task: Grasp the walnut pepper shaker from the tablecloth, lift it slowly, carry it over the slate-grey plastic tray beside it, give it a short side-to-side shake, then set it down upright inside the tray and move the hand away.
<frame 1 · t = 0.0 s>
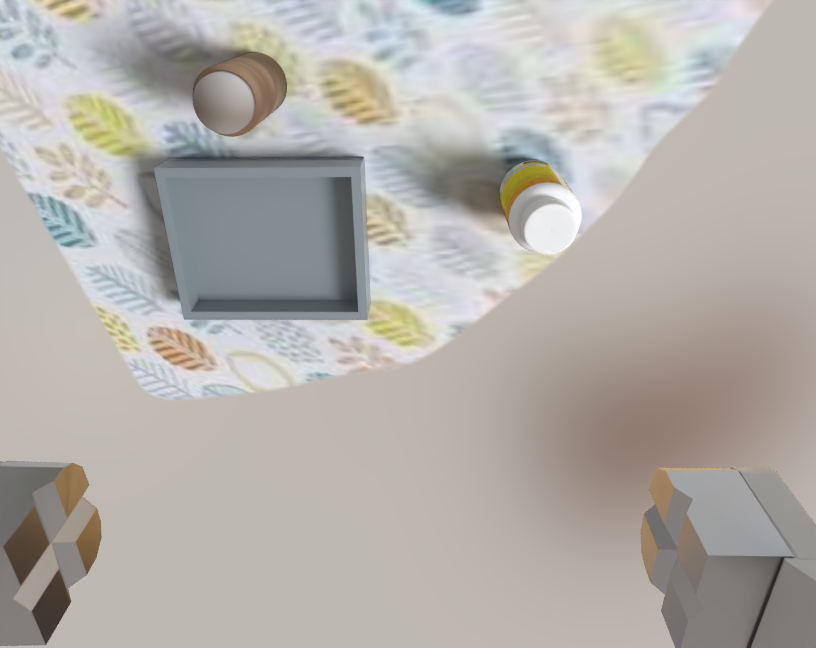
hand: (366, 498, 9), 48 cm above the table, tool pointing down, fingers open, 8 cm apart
shaker: (257, 83, 52), on the table
tray: (275, 234, 58), on the table
supplement bottle: (530, 189, 56), on the table
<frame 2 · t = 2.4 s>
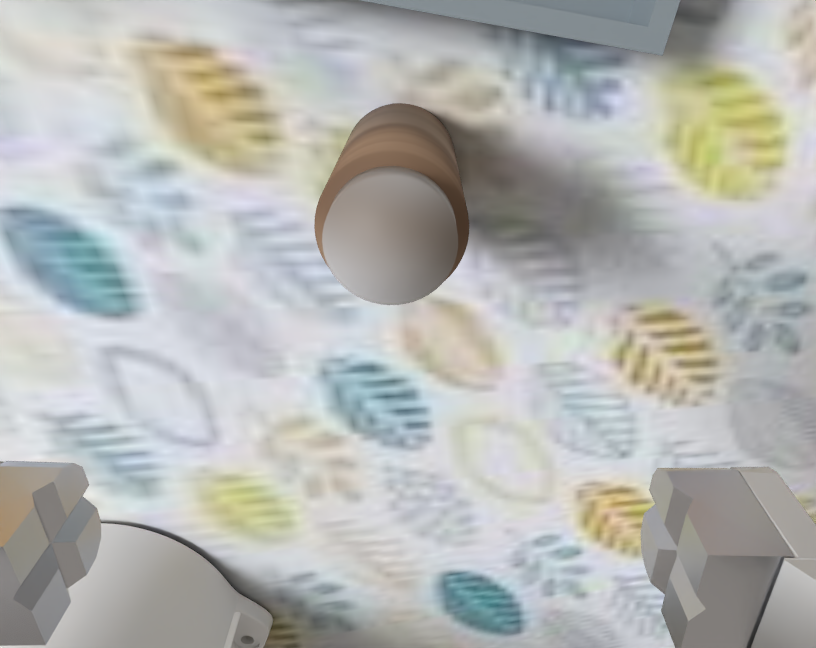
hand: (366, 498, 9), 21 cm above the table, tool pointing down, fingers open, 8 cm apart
shaker: (400, 160, 28), on the table
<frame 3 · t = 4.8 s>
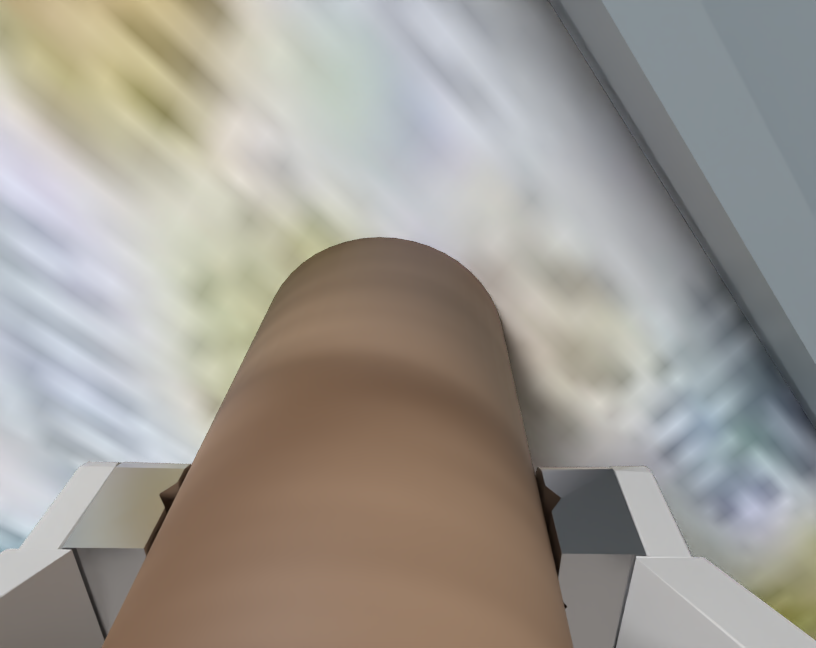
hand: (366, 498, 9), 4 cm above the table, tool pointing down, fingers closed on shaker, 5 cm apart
shaker: (383, 350, 13), on the table, touching gripper
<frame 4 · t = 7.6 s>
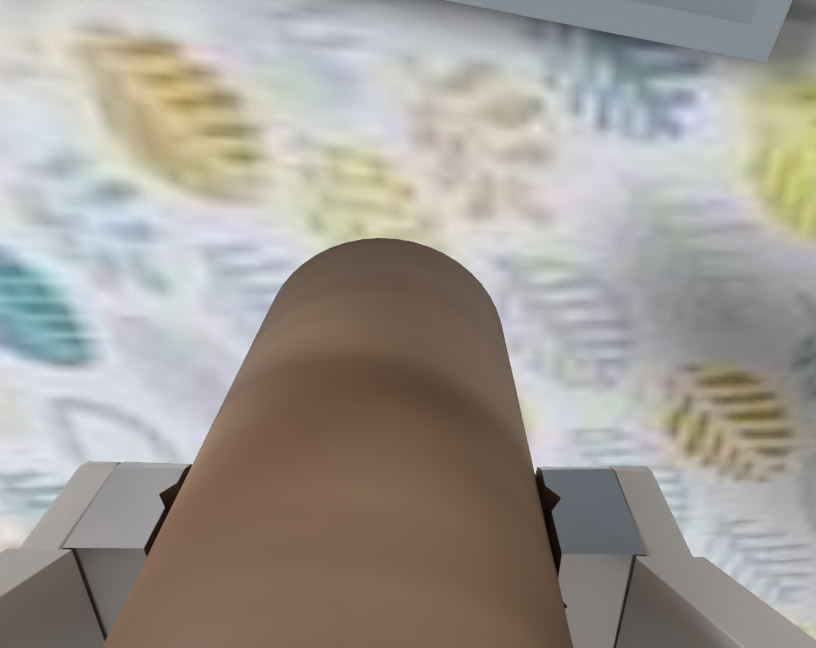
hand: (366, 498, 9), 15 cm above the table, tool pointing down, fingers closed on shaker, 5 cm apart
shaker: (384, 350, 13), point 11 cm above the table, touching gripper
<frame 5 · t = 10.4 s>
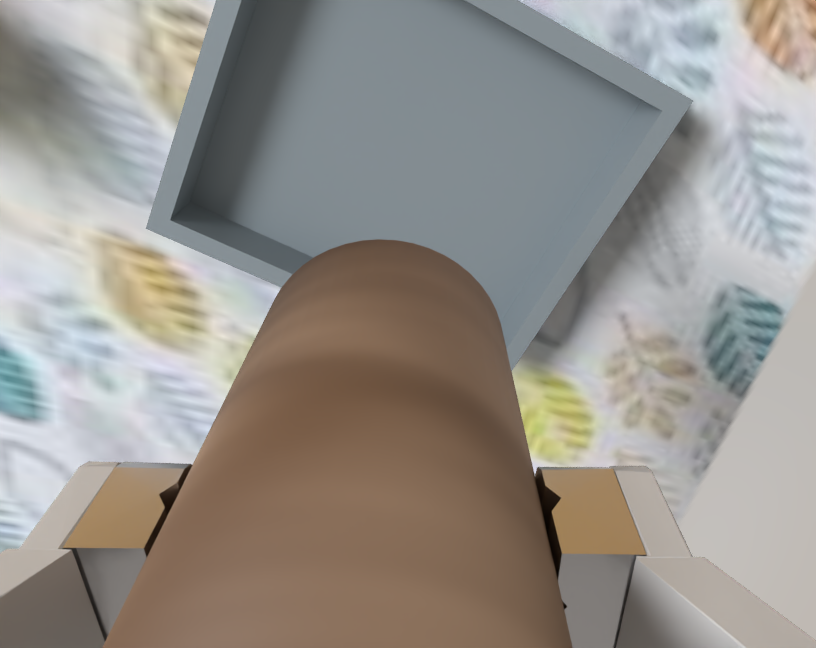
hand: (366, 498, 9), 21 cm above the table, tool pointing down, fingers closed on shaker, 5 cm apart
shaker: (384, 351, 13), point 17 cm above the table, touching gripper
tray: (406, 148, 28), on the table
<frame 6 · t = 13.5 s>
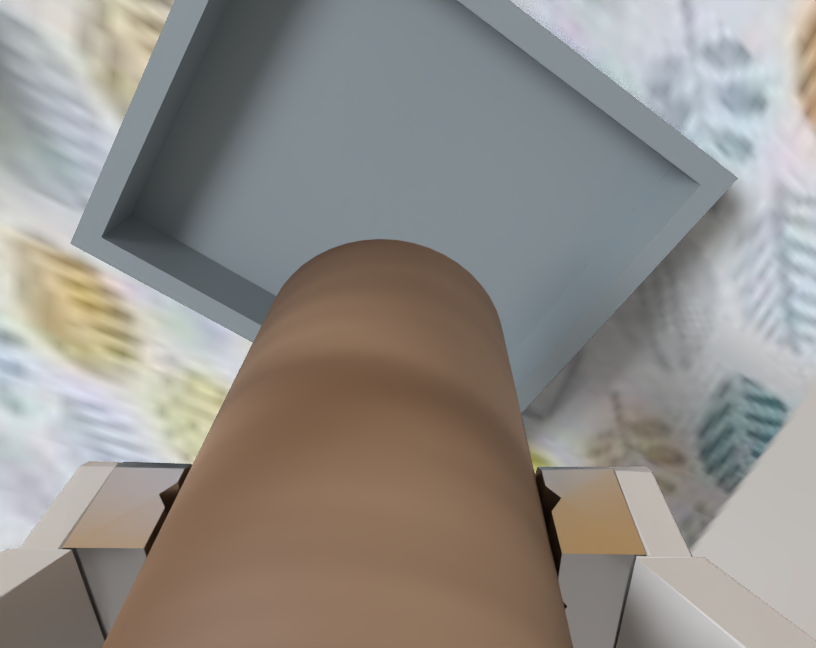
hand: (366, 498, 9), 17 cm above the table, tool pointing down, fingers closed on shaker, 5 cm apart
shaker: (384, 351, 13), point 13 cm above the table, touching gripper
tray: (396, 182, 24), on the table
when the fingers open (6 cm above the table, at t = 16.1 s): shaker stays where it is, resting on tray.
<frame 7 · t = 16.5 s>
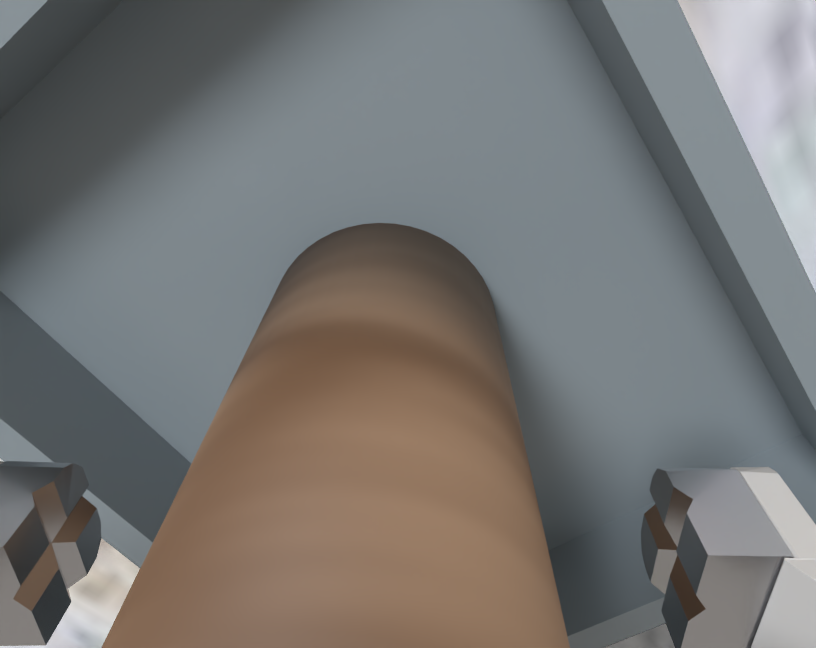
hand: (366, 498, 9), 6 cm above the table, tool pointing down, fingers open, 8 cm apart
shaker: (383, 329, 14), point 1 cm above the table, touching tray
tray: (390, 308, 15), on the table
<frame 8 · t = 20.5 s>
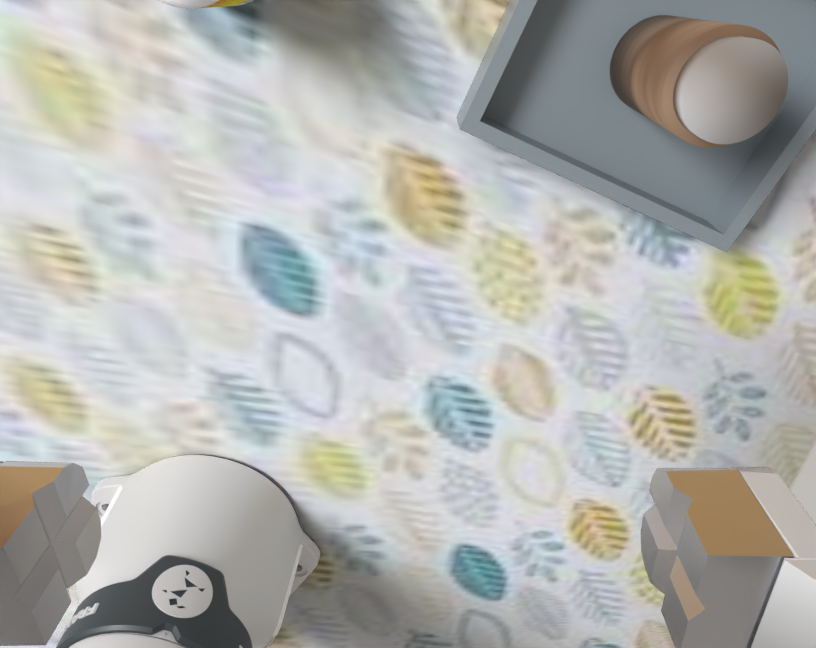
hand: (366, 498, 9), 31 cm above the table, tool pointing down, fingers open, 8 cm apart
shaker: (655, 64, 34), point 1 cm above the table, touching tray
tray: (650, 61, 35), on the table
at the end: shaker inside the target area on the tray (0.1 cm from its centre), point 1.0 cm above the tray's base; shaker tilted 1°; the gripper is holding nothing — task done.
